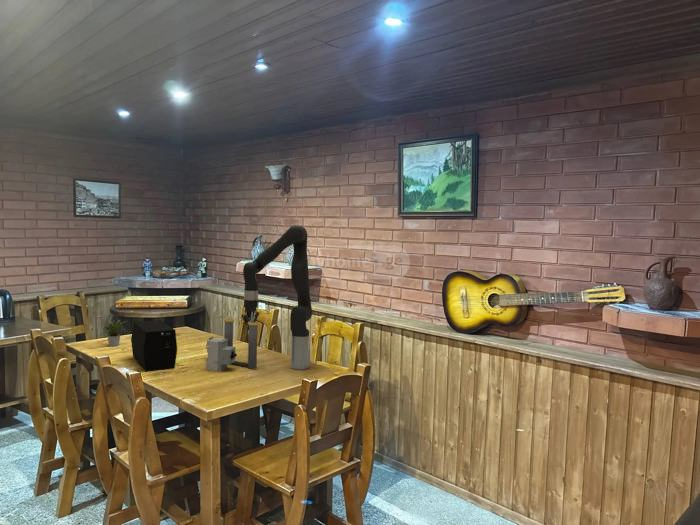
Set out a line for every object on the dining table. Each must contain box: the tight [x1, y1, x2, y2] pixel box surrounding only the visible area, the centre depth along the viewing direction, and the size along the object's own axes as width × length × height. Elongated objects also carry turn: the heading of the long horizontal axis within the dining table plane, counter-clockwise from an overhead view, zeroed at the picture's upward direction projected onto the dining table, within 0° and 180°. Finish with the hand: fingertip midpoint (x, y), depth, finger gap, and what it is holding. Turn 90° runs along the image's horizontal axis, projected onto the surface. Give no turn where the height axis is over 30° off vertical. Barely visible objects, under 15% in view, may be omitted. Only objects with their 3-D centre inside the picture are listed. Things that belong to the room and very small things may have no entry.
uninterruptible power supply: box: [130, 319, 178, 373], centre depth 262 cm, size 16×34×20 cm, turn 34°
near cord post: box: [247, 321, 259, 370], centre depth 259 cm, size 5×5×24 cm
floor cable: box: [231, 360, 248, 368], centre depth 264 cm, size 11×2×2 cm, turn 64°
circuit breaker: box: [205, 337, 238, 372], centre depth 255 cm, size 8×14×15 cm, turn 78°
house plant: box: [103, 319, 127, 348], centre depth 299 cm, size 14×14×16 cm
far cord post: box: [223, 317, 235, 365], centre depth 267 cm, size 5×5×24 cm
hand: (250, 330), depth 270 cm, fingers closed
